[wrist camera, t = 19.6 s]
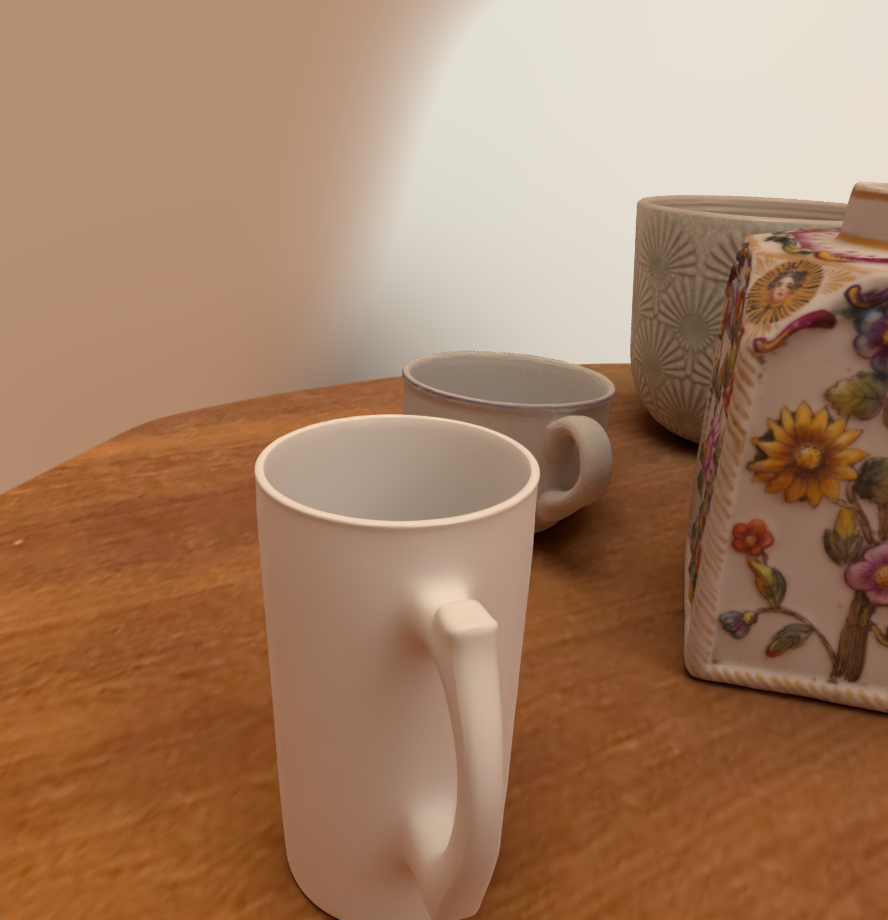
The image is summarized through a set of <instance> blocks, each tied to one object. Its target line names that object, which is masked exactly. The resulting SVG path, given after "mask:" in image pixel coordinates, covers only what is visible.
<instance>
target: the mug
mask: <svg viewBox="0 0 888 920" xmlns="http://www.w3.org/2000/svg"><path fill="white" fill-rule="evenodd" d="M255 477H256V506H257V523H258V536H259V549H260V561H261V573H262V584H263V596H264V607H265V619H266V630H267V642H268V653H269V665H270V677H271V688H272V700H273V712H274V724H275V737H276V750H277V763H278V776H279V788H280V800H281V810H282V819H283V827H284V836H285V845H286V853H287V858H288V863H289V866H290V869H291V871H292V874H293V876H294V878H295V880H296V882H297V884H298V885H299V887H300V888H301V890H302V891H303V892H304V894H305V895H306V896H307V897H308V898H309V899H310V900H311V901H312V902H313V903H314V904H315V905H316V906H318V907H319V908H320V909H322V910H323V911H325V912H326V913H328V914H329V915H331V916H333V917H335V918H337V919H339V920H460V919H464V918H467V917H471V916H473V915H474V914H476V913H477V911H478V909H479V908H480V905H481V902H482V899H483V897H484V895H485V892H486V890H487V888H488V885H489V883H490V880H491V877H492V875H493V871H494V868H495V865H496V862H497V859H498V855H499V849H500V842H501V832H502V823H503V814H504V806H505V799H506V792H507V785H508V776H509V766H510V756H511V746H512V736H513V727H514V717H515V708H516V699H517V690H518V680H519V671H520V662H521V653H522V644H523V635H524V626H525V617H526V608H527V599H528V590H529V580H530V571H531V562H532V552H533V541H534V527H535V511H536V498H537V488H538V482H539V479H540V469H539V465H538V463H537V461H536V459H535V457H534V456H533V455H532V454H531V453H530V452H529V451H528V450H527V449H526V448H525V447H524V446H522V445H521V444H520V443H518V442H516V441H515V440H513V439H511V438H509V437H507V436H505V435H503V434H501V433H498V432H496V431H493V430H491V429H488V428H485V427H481V426H478V425H474V424H470V423H466V422H462V421H457V420H451V419H445V418H438V417H429V416H418V415H365V416H355V417H347V418H341V419H335V420H330V421H325V422H321V423H317V424H313V425H310V426H306V427H303V428H300V429H298V430H295V431H293V432H290V433H288V434H286V435H284V436H282V437H280V438H278V439H277V440H275V441H274V442H272V443H271V444H270V445H268V446H267V447H266V448H265V449H264V450H263V451H262V453H261V454H260V455H259V457H258V459H257V461H256V464H255Z"/></svg>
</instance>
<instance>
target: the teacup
mask: <svg viewBox="0 0 888 920" xmlns="http://www.w3.org/2000/svg"><path fill="white" fill-rule="evenodd" d="M402 375H403V379H404V398H403V415H418V416H429V417H438V418H445V419H451V420H457V421H462V422H466V423H470V424H474V425H478V426H481V427H485V428H488V429H491V430H493V431H496V432H498V433H501V434H503V435H505V436H507V437H509V438H511V439H513V440H515V441H516V442H518V443H520V444H521V445H522V446H524V447H525V448H526V449H527V450H528V451H529V452H530V453H531V454H532V455H533V456H534V457H535V459H536V461H537V463H538V465H539V469H540V479H539V482H538V488H537V498H536V511H535V527H534V533H537V532H541V531H544V530H546V529H548V528H550V527H551V526H553V525H555V524H556V523H557V522H558V521H559V520H561V519H564V518H566V517H568V516H569V515H571V514H573V513H574V512H576V511H577V510H578V509H580V508H581V507H584V506H587V505H589V504H591V503H593V502H594V501H596V500H597V499H598V498H600V497H601V495H602V494H603V493H604V492H605V490H606V488H607V486H608V484H609V481H610V478H611V474H612V451H611V446H610V441H609V439H608V436H607V434H606V432H607V426H608V419H609V412H610V405H611V402H612V400H613V398H614V396H615V393H616V389H615V386H614V384H613V383H612V382H611V381H610V380H609V379H608V378H607V377H605V376H603V375H602V374H600V373H598V372H596V371H593V370H590V369H588V368H586V367H582V366H579V365H576V364H570V363H567V362H564V361H560V360H554V359H548V358H544V357H539V356H532V355H523V354H514V353H505V352H481V351H459V352H442V353H436V354H430V355H426V356H422V357H418V358H415V359H413V360H411V361H409V362H408V363H407V364H405V366H404V367H403V370H402Z"/></svg>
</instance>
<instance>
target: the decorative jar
mask: <svg viewBox="0 0 888 920" xmlns="http://www.w3.org/2000/svg"><path fill="white" fill-rule="evenodd" d="M736 260H737V261H738V262H737V263H736V264H735V265H733V266H732V267H731V272H730V276H729V279H728V282H727V286H726V288H725V290H724V291H725V297H724V305H723V310H722V316H721V321H720V326H719V333H718V337H717V343H716V349H715V355H714V361H713V368H712V373H711V379H710V386H709V390H708V398H707V404H706V410H705V414H704V421H703V427H702V432H701V437H700V443H699V449H698V455H697V462H696V468H695V476H694V483H693V490H692V498H691V505H690V512H689V519H688V526H687V534H686V541H685V559H684V561H685V562H684V609H685V613H684V617H685V622H684V625H685V627H684V661H685V666H686V668H687V670H688V672H689V673H690V674H691V675H692V676H693V677H695V678H699V679H704V680H710V681H716V682H723V683H729V684H734V685H740V686H745V687H749V688H755V689H760V690H766V691H774V692H780V693H786V694H794V695H799V696H805V697H810V698H815V699H820V700H823V701H827V702H832V703H837V704H843V705H848V706H853V707H859V708H865V709H869V710H875V711H881V712H885V713H888V183H874V182H872V183H871V182H858V183H856V184H855V186H854V188H853V190H852V193H851V196H850V199H849V202H848V206H847V209H846V213H845V217H844V220H843V224H842V227H841V228H800V229H787V230H780V231H777V232H772V233H763V234H755V235H751V236H747V237H746V238H745V240H744V243H743V245H742V249H741V250H740V251H739V252H738V254H737V256H736Z"/></svg>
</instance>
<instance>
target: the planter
mask: <svg viewBox="0 0 888 920" xmlns="http://www.w3.org/2000/svg"><path fill="white" fill-rule="evenodd" d="M847 206H848V204H844V203H833V202H822V201H810V200H796V199H781V198H761V197H741V196H704V195H703V196H702V195H698V196H697V195H681V196H680V195H679V196H678V195H677V196H656V197H649V198H643V199H641V200H640V201H638V203H637V217H636V218H637V219H636V238H635V260H634V261H635V262H634V282H633V302H632V323H631V325H632V326H631V347H630V350H631V351H630V352H631V353H630V355H631V356H630V357H631V368H632V373H633V379H634V382H635V386H636V389H637V392H638V394H639V397H640V399H641V401H642V402H643V404H644V406H645V407H646V409H647V410H648V411H649V413H650V414H651V415H652V416H653V418H654V419H655V420H656V421H657V422H659V423H660V424H661V425H662V426H664V427H665V428H666V429H668V430H669V431H671V432H672V433H674V434H676V435H678V436H680V437H682V438H684V439H687V440H689V441H692V442H695V443H698V444H699V443H700V437H701V432H702V427H703V421H704V414H705V410H706V404H707V398H708V390H709V386H710V379H711V373H712V368H713V361H714V355H715V349H716V343H717V337H718V333H719V326H720V321H721V316H722V310H723V305H724V297H725V291H724V290H725V288H726V286H727V282H728V279H729V276H730V272H731V267H732V266H733V265H735V264H736V263H737V262H738V261H737V260H736V256H737V254H738V252H739V251H740V250H741V249H742V245H743V243H744V240H745V238H746V237H747V236H751V235H755V234H763V233H772V232H777V231H780V230H787V229H800V228H841V227H842V224H843V220H844V217H845V213H846V209H847Z"/></svg>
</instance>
